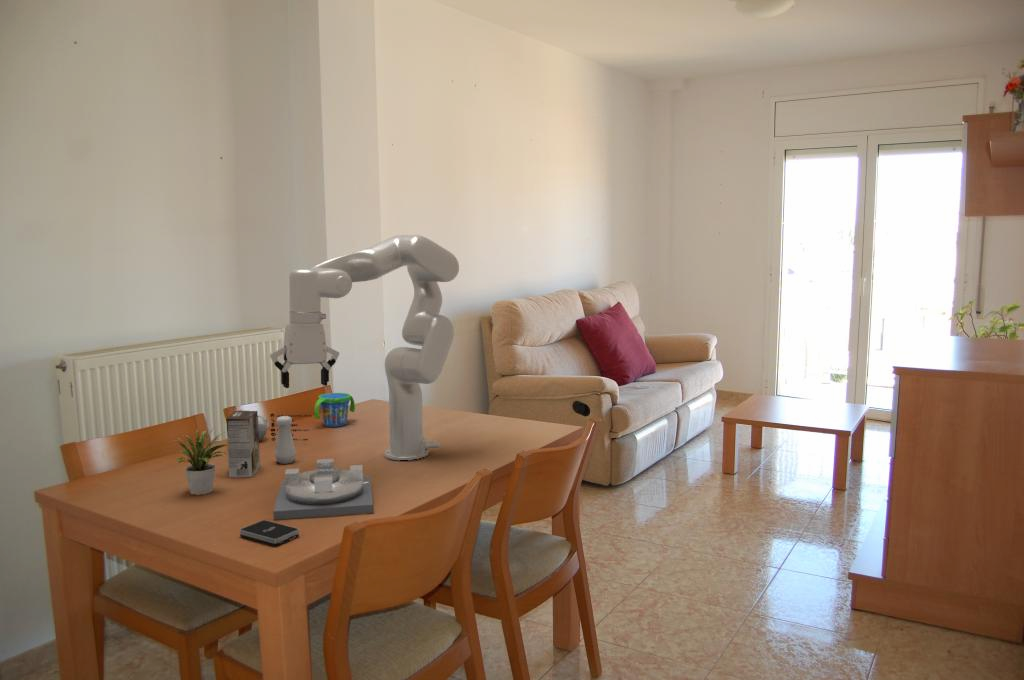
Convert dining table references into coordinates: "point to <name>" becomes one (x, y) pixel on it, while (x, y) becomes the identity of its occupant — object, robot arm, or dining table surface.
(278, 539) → the external hard drive
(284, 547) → the dining table surface
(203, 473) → the house plant
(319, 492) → the domed turntable base
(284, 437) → the salt shaker
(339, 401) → the snack cup
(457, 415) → the dining table surface
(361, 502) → the housing plate
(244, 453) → the coffee box
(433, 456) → the dining table surface
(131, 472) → the dining table surface
